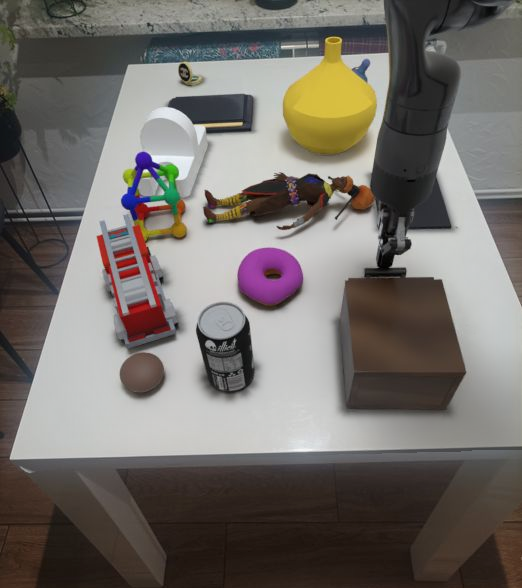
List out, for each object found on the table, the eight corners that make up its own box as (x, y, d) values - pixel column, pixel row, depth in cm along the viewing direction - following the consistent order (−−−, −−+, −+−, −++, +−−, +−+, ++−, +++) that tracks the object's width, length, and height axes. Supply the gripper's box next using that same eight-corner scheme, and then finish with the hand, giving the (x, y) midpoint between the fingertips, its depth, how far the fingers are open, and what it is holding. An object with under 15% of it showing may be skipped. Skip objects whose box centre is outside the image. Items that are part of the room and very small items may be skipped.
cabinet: (339, 321, 71) (345, 280, 64) (426, 321, 70) (442, 279, 63) (346, 408, 62) (354, 372, 55) (446, 409, 61) (466, 372, 54)
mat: (434, 173, 91) (434, 171, 91) (451, 228, 82) (451, 226, 81) (371, 175, 92) (371, 172, 91) (380, 229, 82) (381, 227, 82)
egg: (120, 398, 65) (111, 383, 61) (127, 363, 68) (119, 346, 65) (164, 397, 64) (157, 381, 61) (169, 361, 68) (163, 345, 65)
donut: (267, 319, 72) (265, 299, 68) (225, 284, 76) (221, 263, 73) (315, 285, 75) (316, 264, 72) (272, 253, 80) (271, 232, 76)
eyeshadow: (205, 79, 118) (202, 58, 114) (191, 87, 116) (188, 66, 112) (192, 75, 120) (189, 53, 116) (178, 83, 118) (175, 61, 114)
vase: (363, 116, 104) (376, 16, 89) (378, 164, 94) (395, 60, 78) (280, 121, 105) (279, 22, 89) (285, 170, 94) (284, 67, 78)
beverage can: (232, 347, 69) (223, 290, 59) (264, 373, 66) (260, 318, 56) (198, 374, 66) (182, 320, 57) (229, 403, 63) (218, 350, 54)
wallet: (254, 89, 110) (251, 124, 101) (254, 98, 112) (251, 132, 103) (169, 92, 111) (158, 127, 102) (170, 100, 113) (160, 135, 104)
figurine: (204, 170, 88) (367, 139, 84) (216, 206, 95) (368, 179, 90) (199, 224, 79) (382, 193, 75) (213, 260, 85) (382, 233, 81)
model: (118, 245, 82) (113, 163, 71) (126, 211, 88) (123, 132, 77) (185, 252, 83) (190, 173, 73) (187, 219, 90) (193, 142, 79)
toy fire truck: (157, 258, 81) (142, 210, 73) (184, 339, 70) (170, 293, 62) (105, 273, 79) (84, 225, 71) (125, 358, 69) (103, 313, 60)
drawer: (341, 289, 73) (345, 256, 68) (417, 289, 72) (428, 255, 67) (350, 388, 63) (356, 358, 57) (439, 388, 62) (454, 358, 56)
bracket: (188, 197, 90) (177, 141, 81) (138, 195, 91) (121, 139, 82) (209, 142, 101) (200, 87, 92) (163, 141, 102) (150, 86, 93)
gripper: (369, 127, 60) (353, 234, 74) (381, 191, 52) (361, 298, 66) (429, 125, 59) (402, 233, 73) (451, 189, 51) (416, 297, 65)
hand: (383, 264), depth 69 cm, fingers closed
